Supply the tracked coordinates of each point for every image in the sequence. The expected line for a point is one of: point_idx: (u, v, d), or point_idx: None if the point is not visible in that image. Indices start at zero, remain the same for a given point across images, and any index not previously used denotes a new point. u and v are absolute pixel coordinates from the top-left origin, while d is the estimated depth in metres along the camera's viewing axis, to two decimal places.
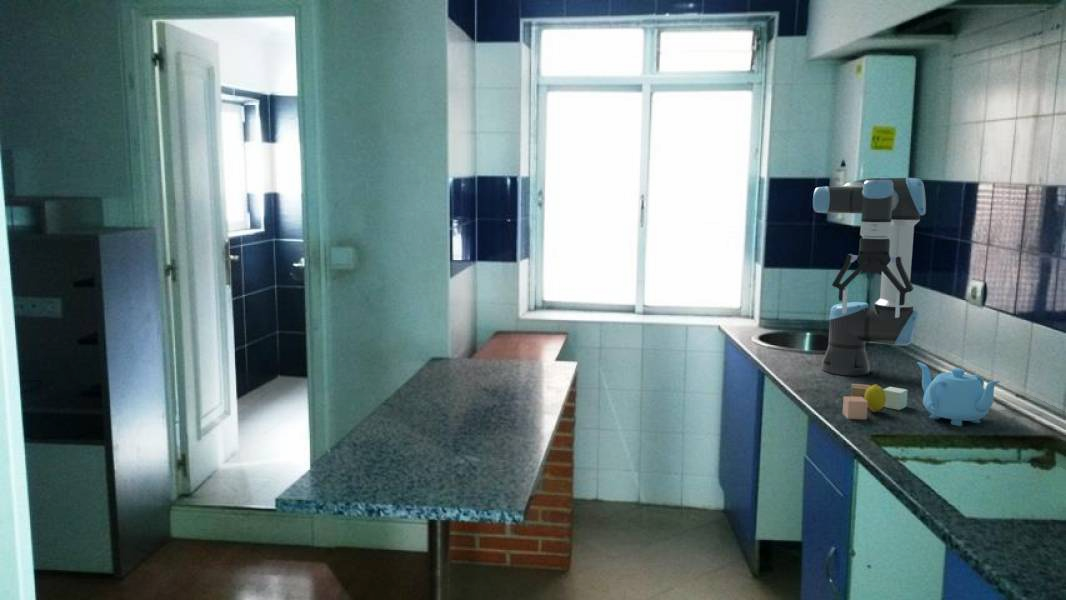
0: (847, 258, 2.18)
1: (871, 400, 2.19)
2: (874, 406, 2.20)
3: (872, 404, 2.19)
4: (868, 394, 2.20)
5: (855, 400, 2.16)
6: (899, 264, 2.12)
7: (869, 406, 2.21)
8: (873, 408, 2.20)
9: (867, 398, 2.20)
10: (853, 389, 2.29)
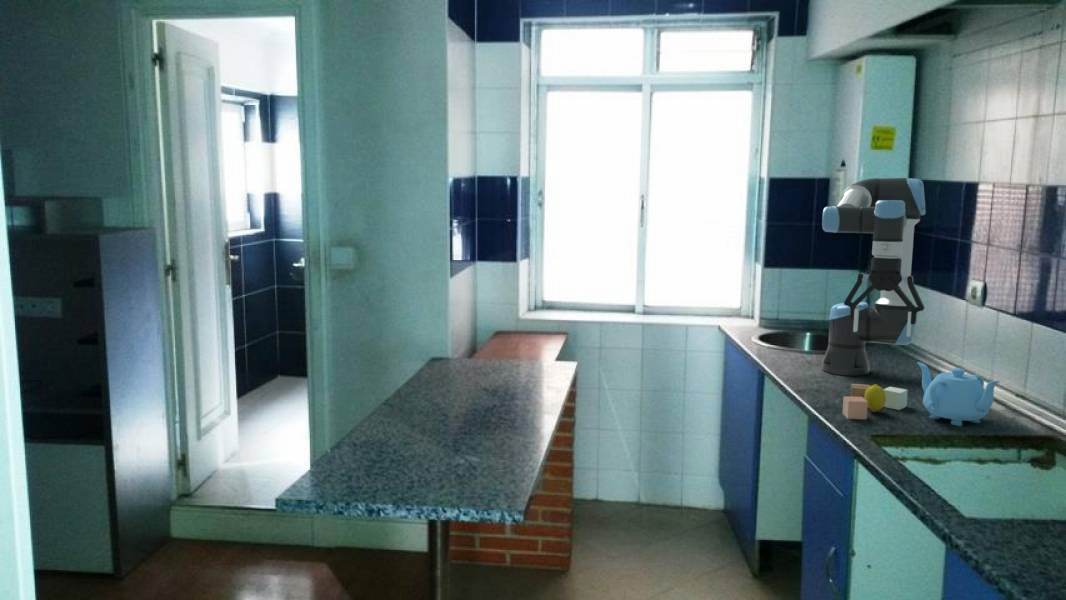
0: (859, 277, 2.20)
1: (871, 400, 2.19)
2: (874, 406, 2.20)
3: (872, 404, 2.19)
4: (868, 394, 2.20)
5: (855, 400, 2.16)
6: (911, 283, 2.14)
7: (869, 406, 2.21)
8: (873, 408, 2.20)
9: (867, 398, 2.20)
10: (853, 389, 2.29)
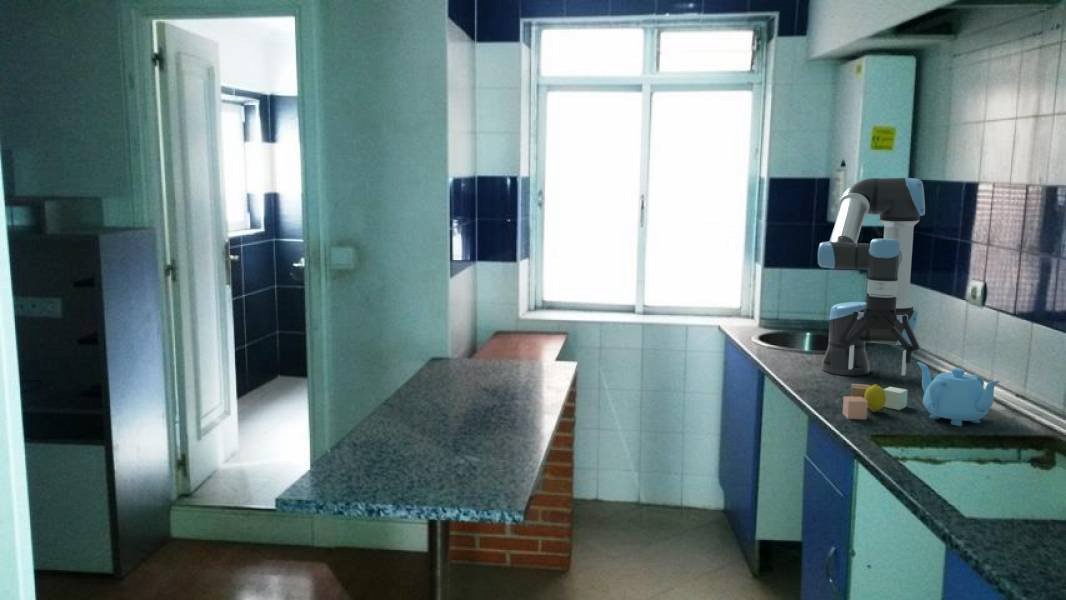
0: (854, 315, 2.20)
1: (871, 400, 2.19)
2: (874, 406, 2.20)
3: (872, 404, 2.19)
4: (868, 394, 2.20)
5: (855, 400, 2.16)
6: (905, 322, 2.14)
7: (869, 406, 2.21)
8: (873, 408, 2.20)
9: (867, 398, 2.20)
10: (853, 389, 2.29)
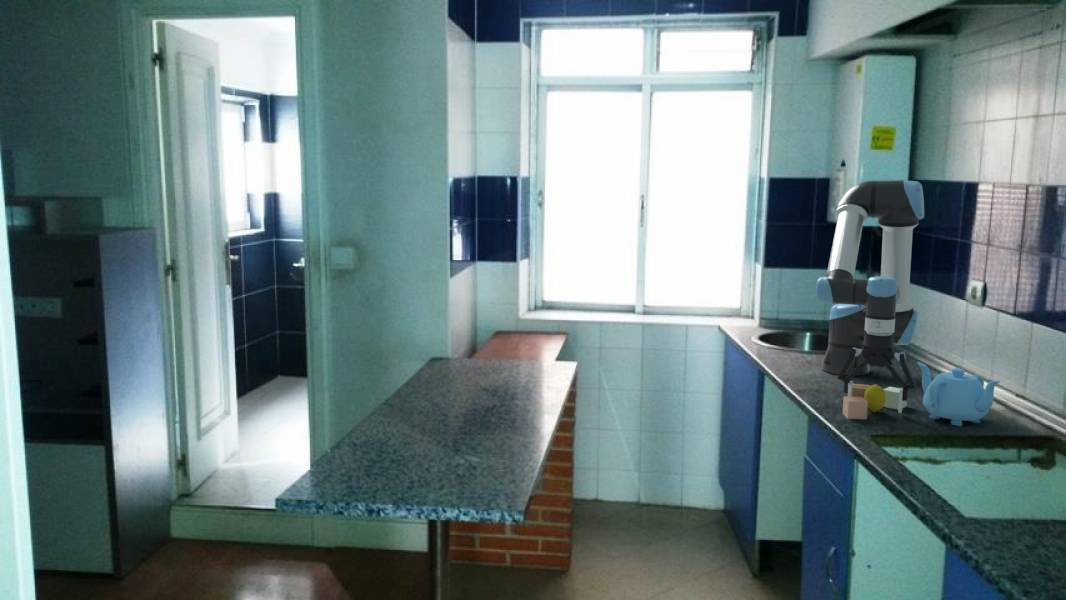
0: (852, 352, 2.22)
1: (871, 400, 2.19)
2: (873, 406, 2.20)
3: (872, 404, 2.19)
4: (868, 394, 2.20)
5: (855, 400, 2.16)
6: (903, 361, 2.15)
7: (869, 406, 2.21)
8: (873, 408, 2.20)
9: (867, 398, 2.20)
10: (853, 389, 2.29)
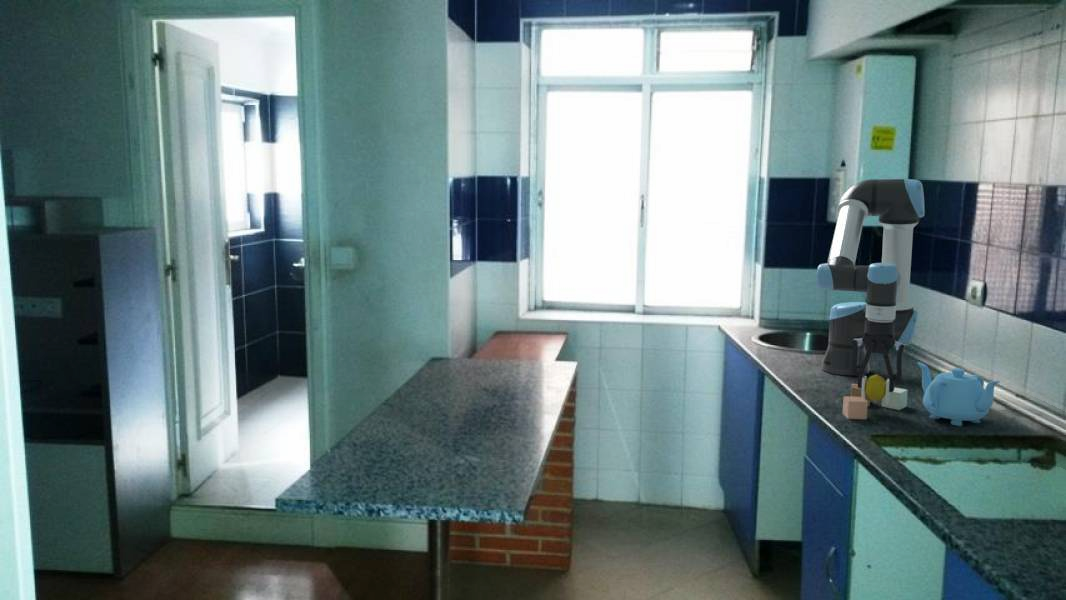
0: (853, 344, 2.22)
1: (872, 390, 2.20)
2: (874, 396, 2.20)
3: (873, 394, 2.20)
4: (869, 384, 2.20)
5: (855, 400, 2.16)
6: (900, 352, 2.16)
7: (870, 396, 2.21)
8: (874, 398, 2.20)
9: (868, 388, 2.21)
10: (853, 389, 2.29)
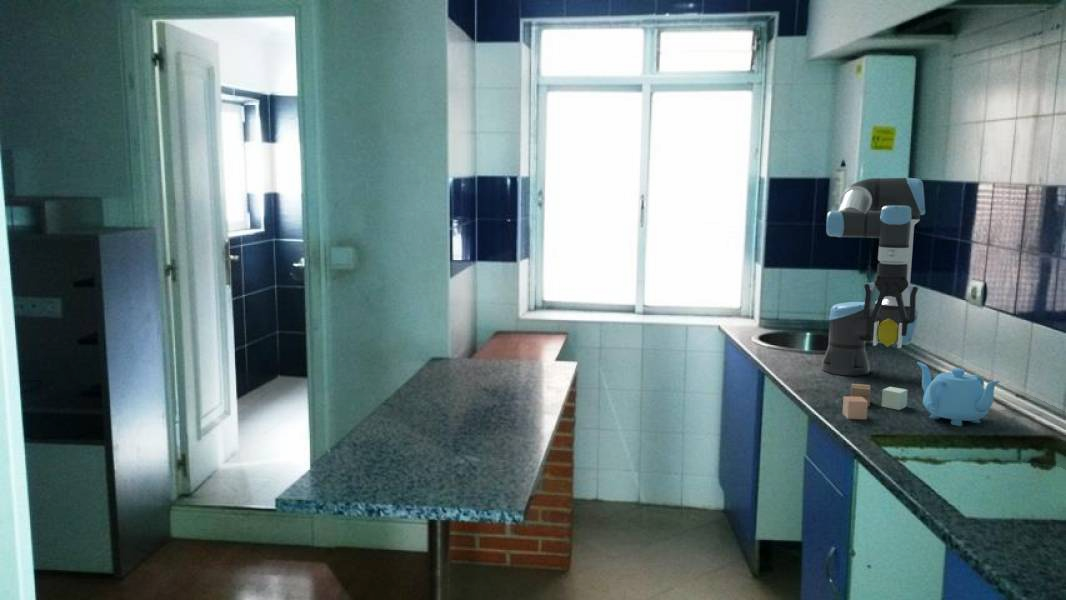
0: (866, 288, 2.20)
1: (884, 334, 2.17)
2: (887, 340, 2.18)
3: (886, 338, 2.17)
4: (881, 328, 2.18)
5: (855, 400, 2.16)
6: (913, 294, 2.14)
7: (882, 340, 2.19)
8: (886, 342, 2.18)
9: (880, 332, 2.18)
10: (853, 389, 2.29)
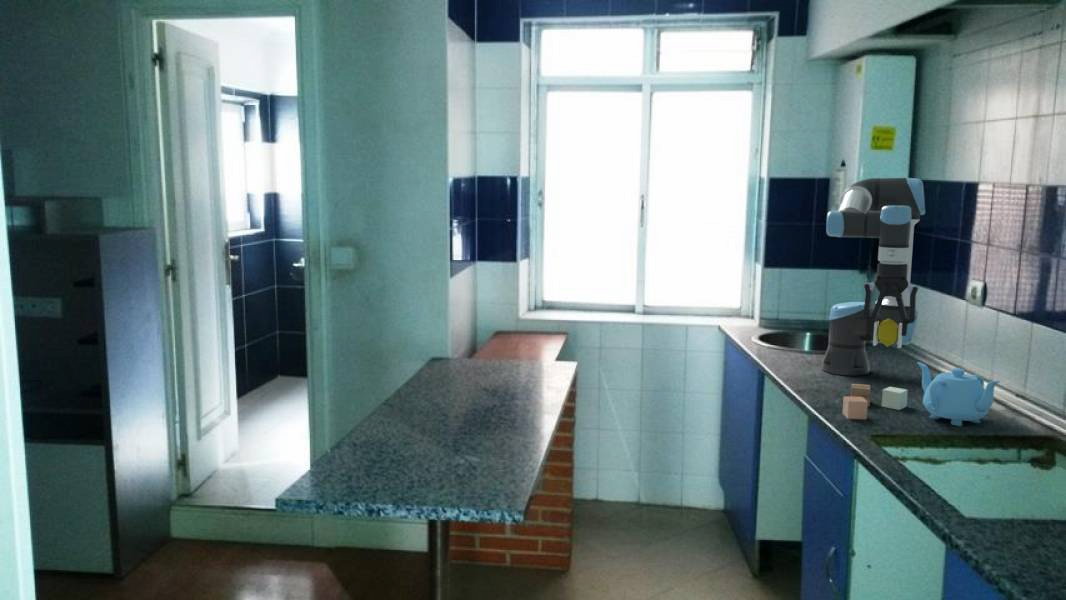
0: (866, 288, 2.20)
1: (884, 334, 2.17)
2: (887, 340, 2.18)
3: (886, 338, 2.17)
4: (881, 328, 2.18)
5: (855, 400, 2.16)
6: (913, 294, 2.14)
7: (882, 340, 2.19)
8: (886, 342, 2.18)
9: (880, 332, 2.18)
10: (853, 389, 2.29)
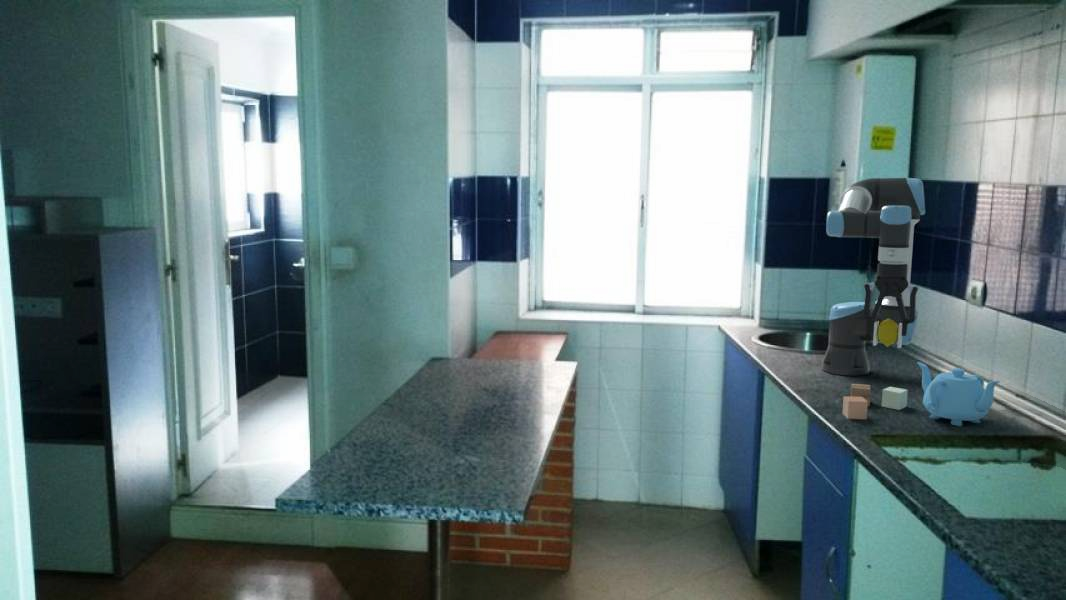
0: (866, 288, 2.20)
1: (884, 334, 2.17)
2: (887, 340, 2.18)
3: (886, 338, 2.17)
4: (881, 328, 2.18)
5: (855, 400, 2.16)
6: (913, 294, 2.14)
7: (882, 340, 2.19)
8: (886, 342, 2.18)
9: (880, 332, 2.18)
10: (853, 389, 2.29)
